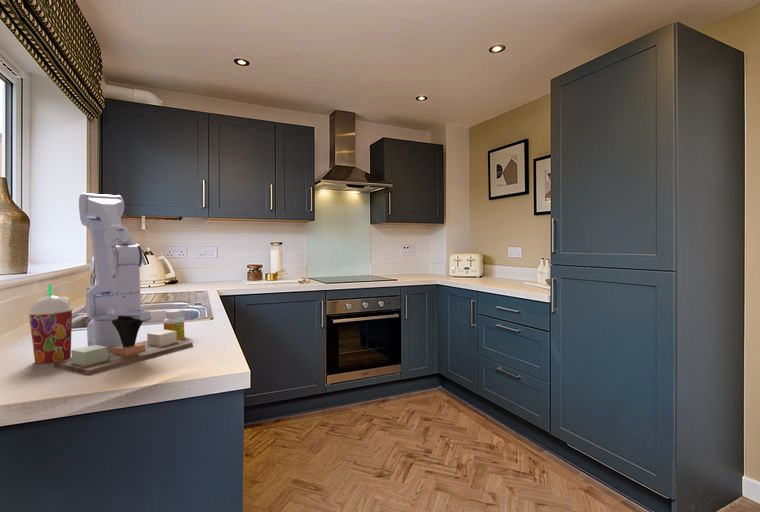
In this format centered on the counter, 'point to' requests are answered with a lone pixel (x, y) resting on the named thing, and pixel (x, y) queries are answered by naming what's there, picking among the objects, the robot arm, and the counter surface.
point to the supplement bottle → (174, 323)
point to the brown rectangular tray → (122, 358)
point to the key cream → (162, 338)
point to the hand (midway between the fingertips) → (129, 346)
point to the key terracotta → (128, 349)
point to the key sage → (89, 355)
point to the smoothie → (51, 329)
